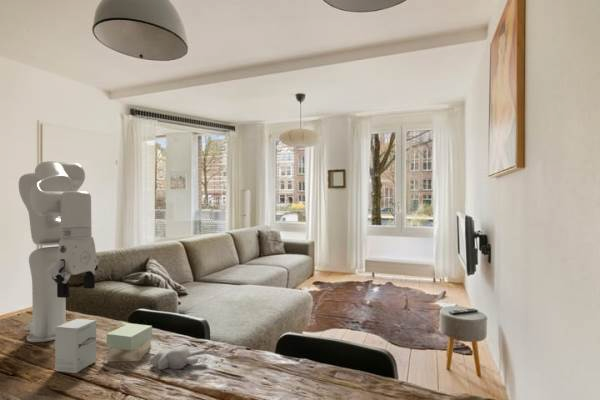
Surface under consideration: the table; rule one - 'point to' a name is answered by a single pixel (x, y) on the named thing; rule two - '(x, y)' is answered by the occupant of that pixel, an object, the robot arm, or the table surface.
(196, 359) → the bunny figurine
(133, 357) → the block bottom
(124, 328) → the block top
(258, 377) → the table surface
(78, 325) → the supplement box
